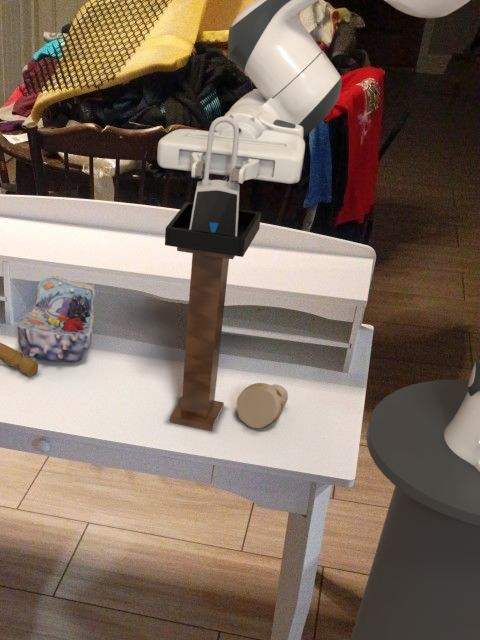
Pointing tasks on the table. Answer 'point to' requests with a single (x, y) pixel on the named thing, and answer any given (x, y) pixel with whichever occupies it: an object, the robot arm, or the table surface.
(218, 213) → the padlock
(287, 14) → the robot arm
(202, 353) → the stand
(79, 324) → the cell model
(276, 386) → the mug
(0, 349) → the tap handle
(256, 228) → the dark tray
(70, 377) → the table surface
